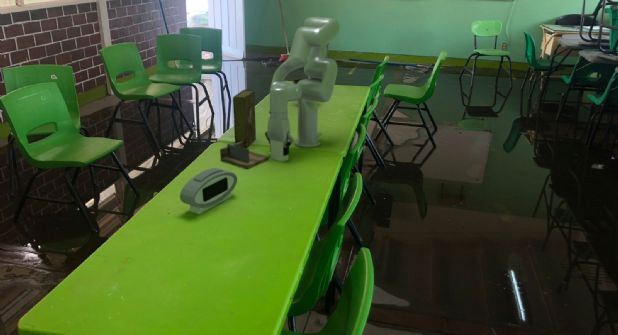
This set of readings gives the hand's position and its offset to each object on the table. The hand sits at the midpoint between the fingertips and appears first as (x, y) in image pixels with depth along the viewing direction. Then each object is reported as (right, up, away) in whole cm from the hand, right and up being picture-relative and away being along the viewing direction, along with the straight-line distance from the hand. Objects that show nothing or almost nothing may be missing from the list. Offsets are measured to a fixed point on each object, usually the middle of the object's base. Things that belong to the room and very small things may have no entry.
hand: (279, 152), depth 215 cm
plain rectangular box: (0, -3, +1) cm, 3 cm away
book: (-17, +5, +20) cm, 27 cm away
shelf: (-15, -3, -1) cm, 16 cm away
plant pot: (+11, +32, +86) cm, 92 cm away
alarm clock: (-22, -20, -41) cm, 51 cm away
